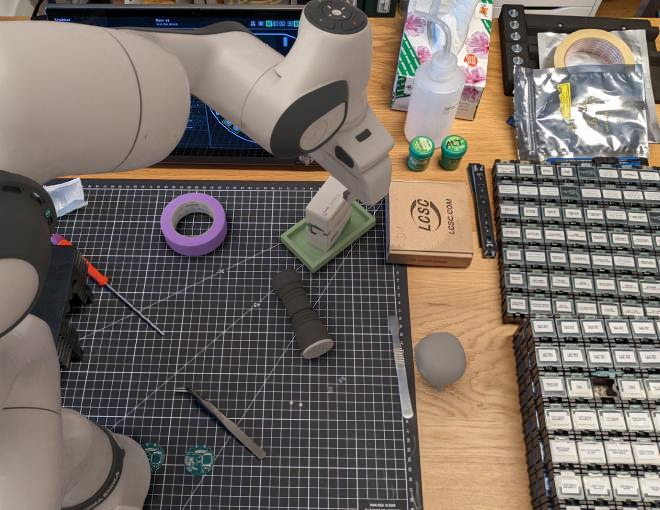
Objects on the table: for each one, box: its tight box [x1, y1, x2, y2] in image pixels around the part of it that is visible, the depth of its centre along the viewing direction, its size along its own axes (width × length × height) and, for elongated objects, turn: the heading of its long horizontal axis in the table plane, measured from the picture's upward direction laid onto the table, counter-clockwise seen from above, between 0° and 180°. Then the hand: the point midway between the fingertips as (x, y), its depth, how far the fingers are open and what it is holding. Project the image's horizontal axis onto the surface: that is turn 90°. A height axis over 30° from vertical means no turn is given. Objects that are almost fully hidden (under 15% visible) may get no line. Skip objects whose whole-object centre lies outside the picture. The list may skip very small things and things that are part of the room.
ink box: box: [304, 174, 352, 253], centre depth 110 cm, size 9×5×12 cm, turn 148°
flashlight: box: [271, 268, 335, 360], centre depth 105 cm, size 15×5×5 cm, turn 24°
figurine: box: [413, 331, 467, 394], centre depth 97 cm, size 8×8×12 cm
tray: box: [280, 200, 377, 274], centre depth 115 cm, size 16×9×2 cm, turn 132°
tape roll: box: [159, 192, 228, 257], centre depth 114 cm, size 12×12×4 cm
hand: (328, 179), depth 92 cm, fingers open, 8 cm apart
